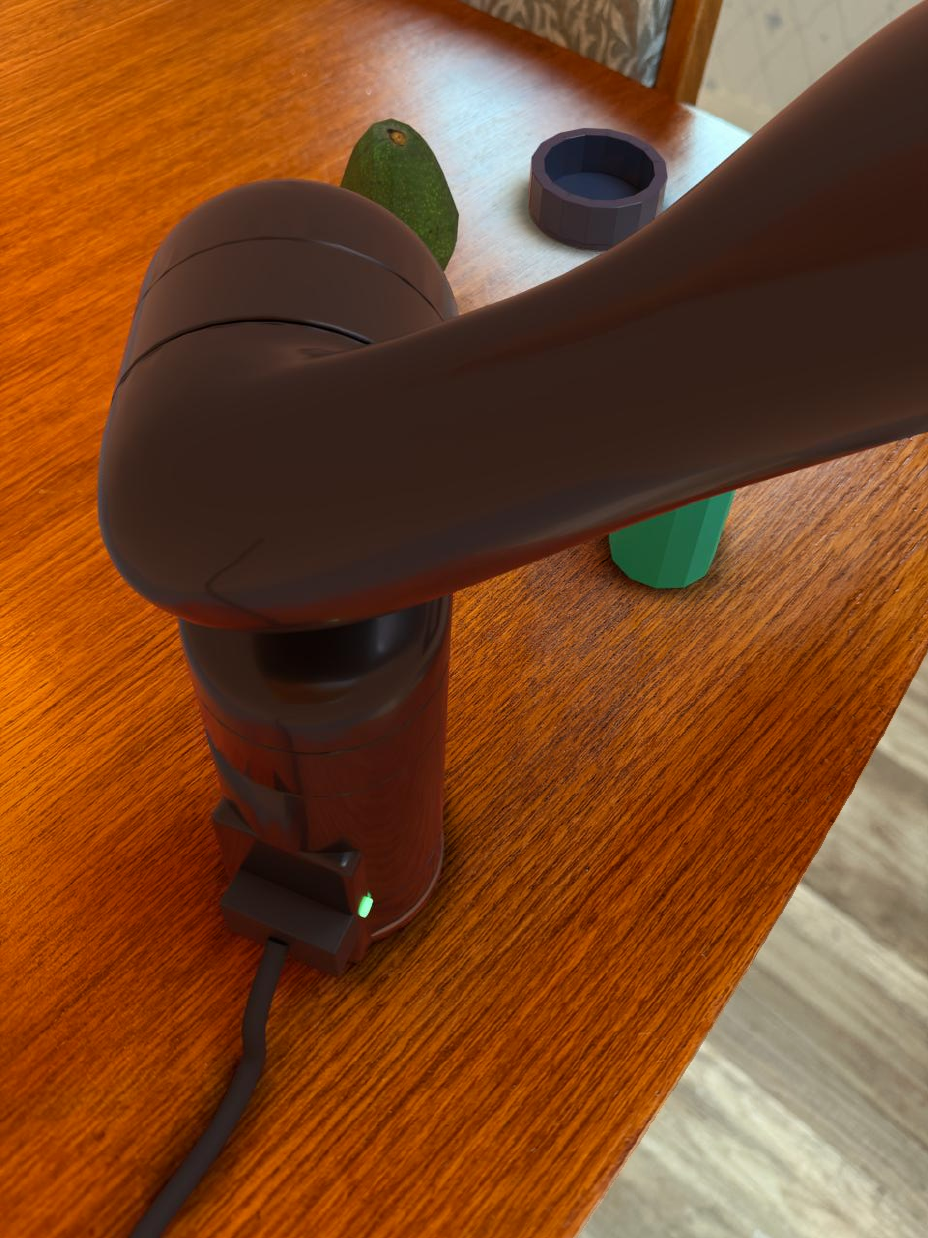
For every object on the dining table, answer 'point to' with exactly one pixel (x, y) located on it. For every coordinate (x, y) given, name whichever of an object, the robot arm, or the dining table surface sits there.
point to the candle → (672, 544)
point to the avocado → (405, 183)
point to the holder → (595, 187)
